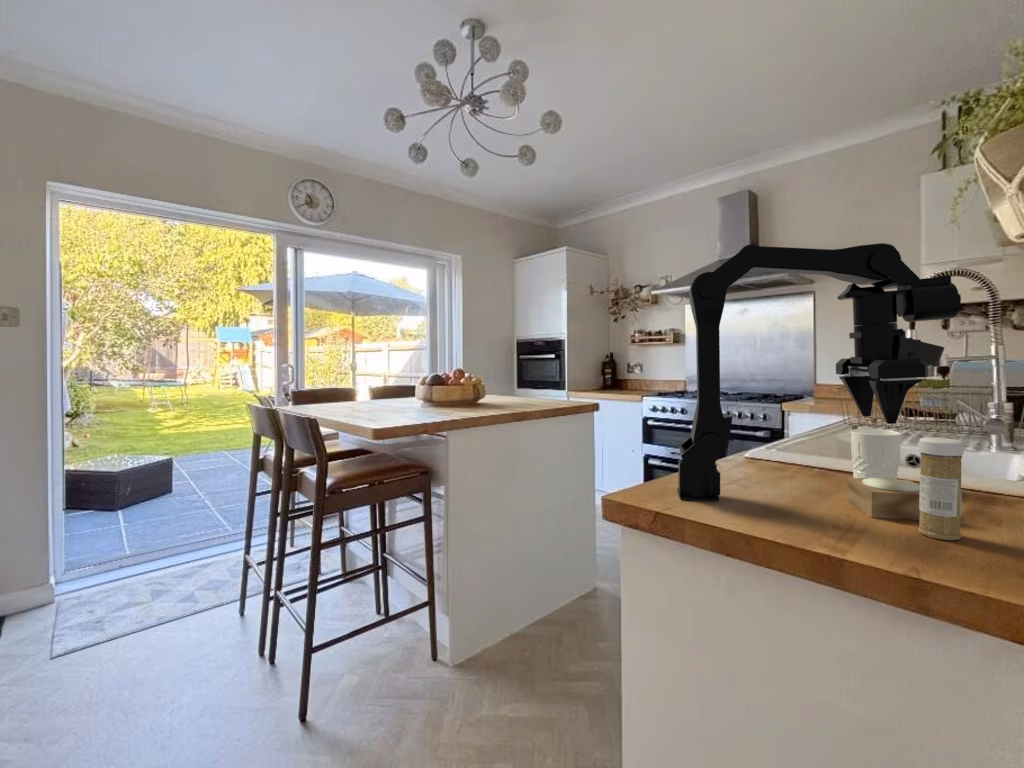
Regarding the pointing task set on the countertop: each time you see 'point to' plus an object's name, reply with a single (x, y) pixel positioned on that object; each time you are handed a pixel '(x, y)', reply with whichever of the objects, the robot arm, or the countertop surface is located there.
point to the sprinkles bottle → (940, 488)
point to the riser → (885, 497)
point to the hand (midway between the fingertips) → (878, 419)
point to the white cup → (875, 453)
